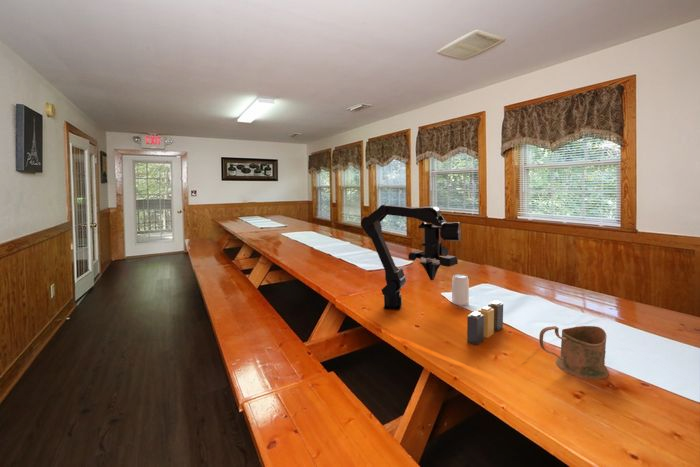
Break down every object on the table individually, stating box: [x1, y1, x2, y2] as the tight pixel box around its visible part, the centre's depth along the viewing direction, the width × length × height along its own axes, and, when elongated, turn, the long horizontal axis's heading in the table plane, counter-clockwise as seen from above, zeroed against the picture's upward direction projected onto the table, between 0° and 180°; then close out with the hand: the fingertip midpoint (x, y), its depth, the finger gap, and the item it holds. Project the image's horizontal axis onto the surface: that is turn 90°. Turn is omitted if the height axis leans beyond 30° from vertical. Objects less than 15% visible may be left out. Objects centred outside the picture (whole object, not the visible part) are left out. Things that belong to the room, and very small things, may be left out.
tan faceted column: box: [477, 305, 495, 339], centre depth 108 cm, size 3×4×9 cm
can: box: [451, 273, 470, 306], centre depth 137 cm, size 6×6×12 cm
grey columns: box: [466, 300, 504, 346], centre depth 112 cm, size 18×19×10 cm
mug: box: [538, 325, 609, 381], centre depth 89 cm, size 12×18×12 cm, turn 95°
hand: (432, 280), depth 130 cm, fingers closed
